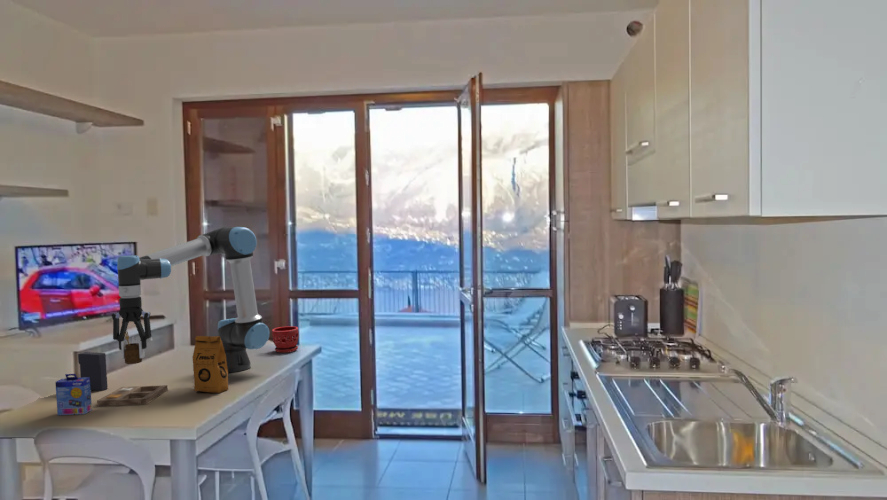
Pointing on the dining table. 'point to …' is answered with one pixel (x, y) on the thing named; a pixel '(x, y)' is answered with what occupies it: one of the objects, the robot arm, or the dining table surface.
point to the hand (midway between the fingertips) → (133, 357)
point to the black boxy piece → (94, 369)
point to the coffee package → (210, 365)
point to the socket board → (132, 395)
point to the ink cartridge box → (73, 395)
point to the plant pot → (285, 339)
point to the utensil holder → (132, 352)
